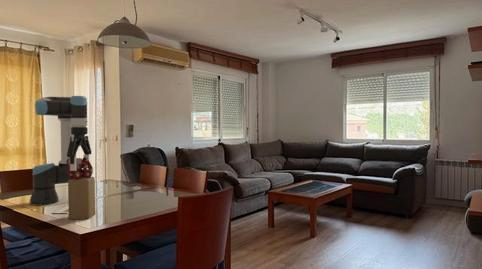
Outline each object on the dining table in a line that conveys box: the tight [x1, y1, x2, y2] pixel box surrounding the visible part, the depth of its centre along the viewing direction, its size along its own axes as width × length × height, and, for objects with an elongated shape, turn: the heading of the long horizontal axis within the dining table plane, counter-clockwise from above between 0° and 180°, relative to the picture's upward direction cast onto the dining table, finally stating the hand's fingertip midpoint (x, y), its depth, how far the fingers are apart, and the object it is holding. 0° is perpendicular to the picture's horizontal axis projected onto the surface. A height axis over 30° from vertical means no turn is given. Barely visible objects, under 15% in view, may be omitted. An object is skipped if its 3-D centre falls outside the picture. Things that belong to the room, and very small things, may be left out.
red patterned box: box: [67, 157, 94, 179], centre depth 170 cm, size 7×12×10 cm, turn 138°
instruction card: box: [53, 205, 69, 213], centre depth 187 cm, size 13×18×1 cm
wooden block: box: [67, 176, 96, 220], centre depth 171 cm, size 10×10×20 cm
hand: (80, 168), depth 170 cm, fingers open, 13 cm apart
